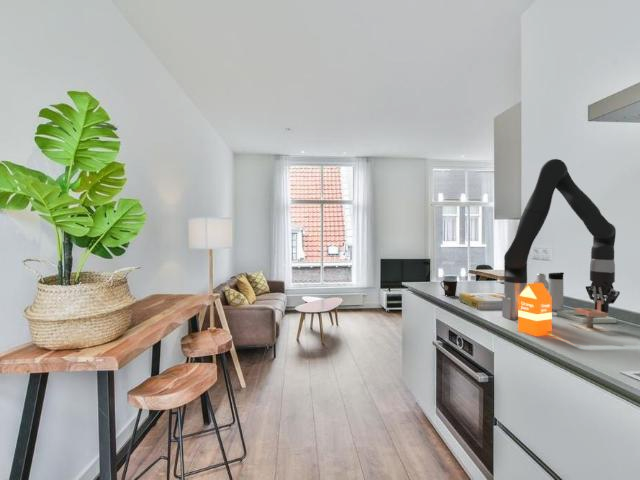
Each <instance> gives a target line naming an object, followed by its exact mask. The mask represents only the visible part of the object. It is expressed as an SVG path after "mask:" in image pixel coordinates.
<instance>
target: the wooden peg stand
mask: <svg viewBox="0 0 640 480" xmlns="http://www.w3.org/2000/svg"><path fill="white" fill-rule="evenodd" d="M586 318H587V323H570V324H569V323H568V325H570V326H572V327H574V328H578V329H579V330H583V331H586V332H612V330H611V329H608V328H606V327H605V328H604V327H601V326H599V325H596V324H594V323H593V318H594V317H589V316H586Z"/></svg>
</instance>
